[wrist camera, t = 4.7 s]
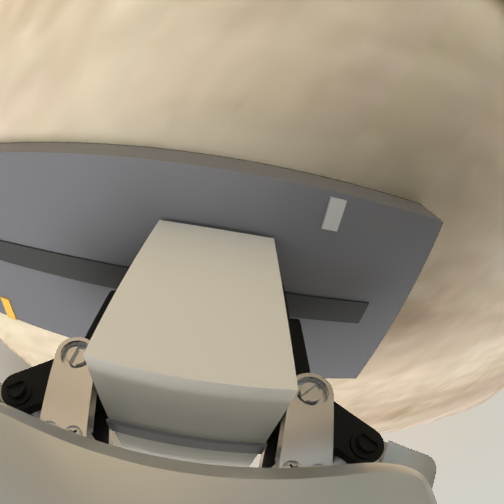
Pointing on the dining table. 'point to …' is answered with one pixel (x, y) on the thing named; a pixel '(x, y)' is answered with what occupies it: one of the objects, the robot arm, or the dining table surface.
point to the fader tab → (196, 347)
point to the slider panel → (212, 216)
